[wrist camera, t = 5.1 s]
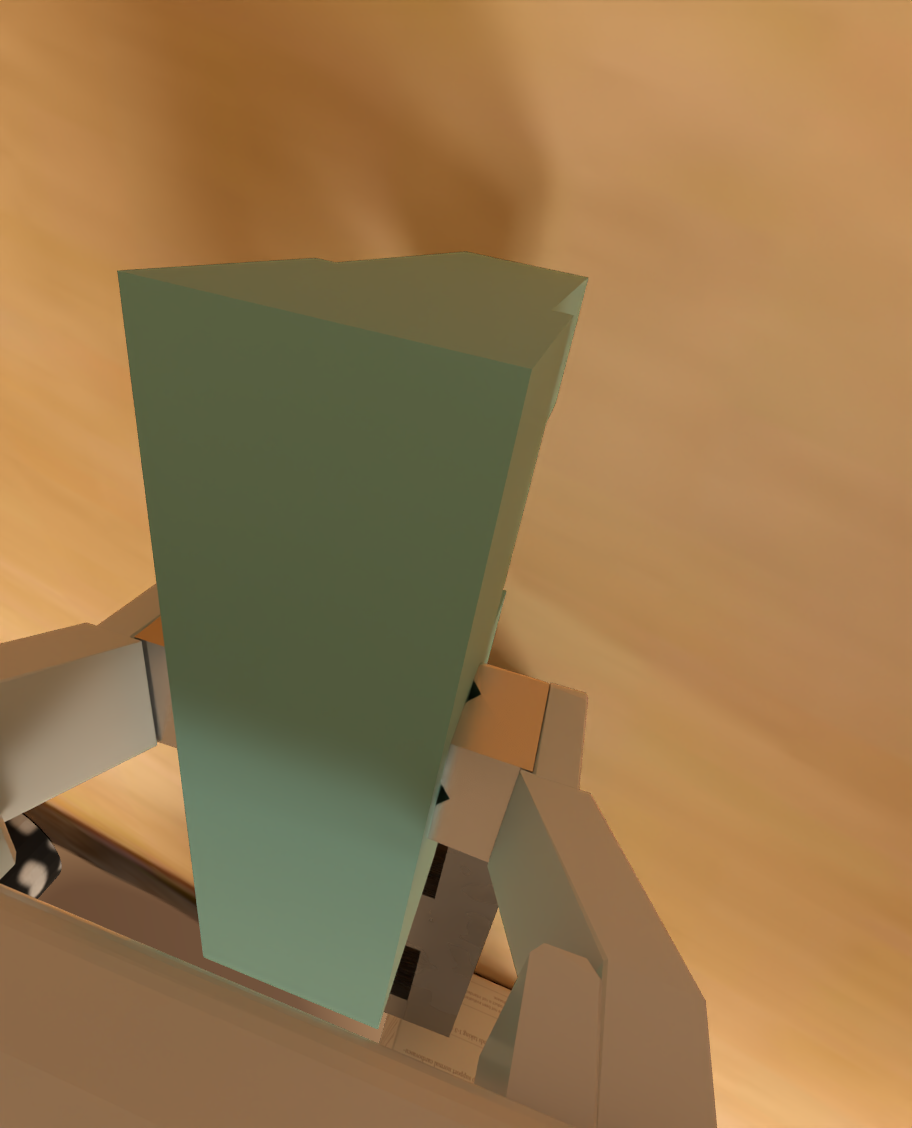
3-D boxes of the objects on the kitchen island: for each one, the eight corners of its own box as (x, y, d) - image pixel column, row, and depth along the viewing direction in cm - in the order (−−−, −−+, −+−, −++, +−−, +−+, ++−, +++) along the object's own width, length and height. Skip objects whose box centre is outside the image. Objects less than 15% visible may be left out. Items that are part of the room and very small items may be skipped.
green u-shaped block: (601, 280, 11) (532, 368, 4) (496, 665, 16) (378, 1029, 9) (454, 248, 12) (117, 270, 4) (396, 633, 17) (203, 956, 9)
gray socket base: (551, 709, 19) (534, 810, 16) (471, 937, 27) (448, 1037, 24) (326, 640, 20) (266, 721, 17) (312, 879, 28) (269, 966, 25)
